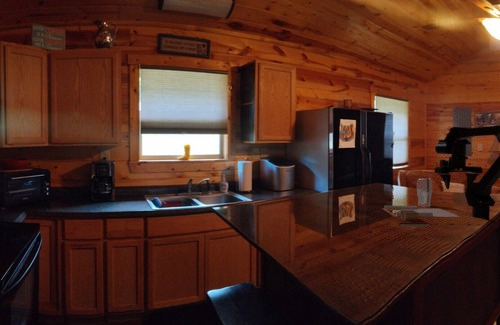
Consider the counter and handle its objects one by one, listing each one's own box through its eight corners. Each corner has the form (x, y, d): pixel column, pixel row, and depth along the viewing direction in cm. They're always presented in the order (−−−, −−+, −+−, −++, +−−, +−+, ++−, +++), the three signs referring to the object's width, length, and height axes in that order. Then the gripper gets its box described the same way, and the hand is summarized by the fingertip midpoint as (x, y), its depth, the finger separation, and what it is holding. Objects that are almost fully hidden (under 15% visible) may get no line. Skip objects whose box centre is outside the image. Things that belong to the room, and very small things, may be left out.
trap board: (460, 220, 138) (460, 213, 138) (394, 219, 140) (394, 212, 140) (439, 211, 155) (440, 205, 155) (382, 211, 157) (382, 205, 157)
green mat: (429, 226, 129) (429, 224, 128) (400, 226, 129) (400, 224, 129) (417, 219, 139) (417, 218, 139) (391, 219, 140) (391, 217, 140)
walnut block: (418, 222, 132) (418, 212, 132) (405, 222, 132) (405, 212, 132) (412, 219, 137) (412, 210, 137) (400, 219, 137) (400, 210, 137)
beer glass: (428, 207, 166) (428, 178, 165) (434, 210, 159) (435, 179, 158) (414, 207, 167) (414, 178, 166) (419, 209, 160) (420, 179, 159)
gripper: (467, 153, 154) (466, 186, 155) (428, 154, 154) (427, 186, 155) (484, 154, 143) (483, 189, 144) (441, 155, 143) (441, 190, 144)
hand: (457, 188), depth 147 cm, fingers open, 9 cm apart
